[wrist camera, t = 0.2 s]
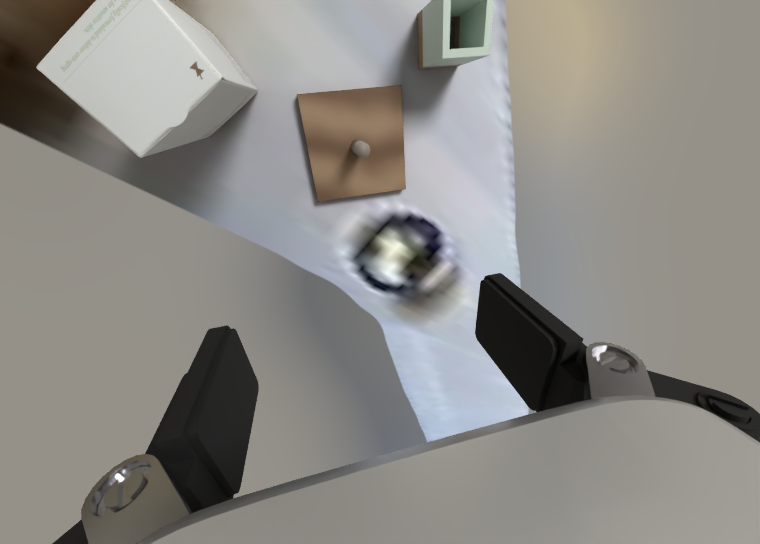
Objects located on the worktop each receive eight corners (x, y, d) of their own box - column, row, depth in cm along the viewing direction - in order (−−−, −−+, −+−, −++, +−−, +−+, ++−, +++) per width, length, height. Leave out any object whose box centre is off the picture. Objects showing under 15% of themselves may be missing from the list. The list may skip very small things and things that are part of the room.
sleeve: (417, 13, 31) (443, -11, 25) (460, 11, 32) (495, -13, 26) (418, 69, 34) (442, 58, 28) (457, 66, 34) (489, 55, 28)
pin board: (297, 94, 32) (295, 90, 28) (399, 85, 34) (413, 80, 29) (317, 199, 38) (319, 211, 33) (403, 187, 40) (416, 196, 35)
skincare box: (211, 31, 28) (125, -47, 15) (262, 95, 32) (229, 78, 18) (153, 87, 29) (23, 61, 16) (208, 143, 33) (139, 161, 19)
